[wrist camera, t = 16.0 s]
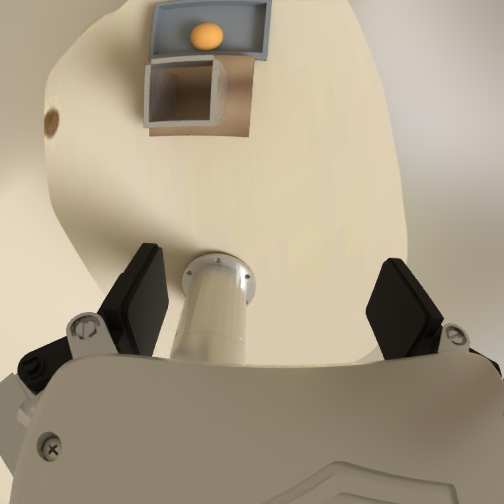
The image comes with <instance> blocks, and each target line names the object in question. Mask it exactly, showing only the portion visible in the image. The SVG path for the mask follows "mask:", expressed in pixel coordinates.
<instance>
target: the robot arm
mask: <svg viewBox="0 0 504 504" xmlns="http://www.w3.org/2000/svg"><path fill="white" fill-rule="evenodd" d="M218 258H219V259H218ZM182 289H183V292H184V295H185V296H186V299H185V302H184V306H183V309H182V313H181V317H180V320H179V324H178V327H177V331H176V335H175V338H174V342H173V346H172V350H171V354H170V359H168V358H159V357H152V354H153V351H154V348H155V345H156V342H157V339H158V336H159V333H160V329H161V326H162V323H163V320H164V318H165V315H166V312H167V309H168V304H169V299H168V292H167V285H166V277H165V269H164V261H163V252H162V248H161V247H158V245H157V244H154V243H143V244H142V245H141V247H140V248H139V250H138V251H137V253H136V254H135V256H134V257H133V259H132V260H131V262H130V263H129V265H128V266H127V268H126V269H125V271H124V273H121V274H120V276H119V277H118V279H117V280H116V282H115V283H114V285H113V287H112V288H111V290H110V292H109V293H108V295H107V296H106V298H105V300H104V301H103V303H102V305H101V307H100V308H99V310H98V312H97V313H92V312H86V313H82V314H79V315H77V316H75V317H74V318H73V319H72V320H71V321H70V322H69V323H68V325H67V328H66V333H67V336H65V337H63V338H61V339H59V340H56V341H54V342H52V343H50V344H47V345H45V346H43V347H41V348H38V349H36V350H34V351H32V352H29V353H28V354H26V355H25V356H24V357H23V358H22V359H21V360H20V362H19V364H18V371H17V372H18V373H17V374H16V375H14V374H13V373H11V374H10V375H9V376H8V377H6V378H5V379H4V380H3V381H2V382H0V455H1V457H2V459H3V461H4V462H5V464H6V466H7V467H8V469H9V470H10V472H11V473H12V475H13V477H14V478H13V483H12V490H11V496H10V504H504V378H503V379H502V374H501V371H500V368H499V365H498V364H497V363H496V362H494V361H492V360H490V359H489V358H487V357H485V356H483V355H482V354H480V353H478V352H476V351H475V350H473V349H471V348H469V344H470V341H469V337H468V334H467V333H466V332H465V331H464V330H463V329H462V328H461V327H459V326H458V325H455V324H451V323H450V324H446V325H444V327H442V325H441V323H442V322H443V320H444V318H443V316H442V314H441V313H440V311H439V310H438V309H437V307H436V306H435V304H434V303H433V301H432V300H431V298H430V297H429V296H428V294H427V293H426V291H425V290H424V289H423V287H422V286H421V285H420V283H419V282H418V280H417V279H416V278H415V276H414V275H413V274H412V273H411V271H410V270H409V268H408V267H407V266H406V265H405V263H404V262H403V261H402V260H401V259H399V258H388V259H387V261H384V263H383V265H382V268H381V271H380V273H379V276H378V279H377V282H376V284H375V287H374V289H373V292H372V295H371V297H370V300H369V302H368V305H367V307H366V316H367V319H368V321H369V323H370V325H371V328H372V330H373V332H374V335H375V337H376V340H377V342H378V344H379V347H380V349H381V351H382V354H383V357H384V359H385V360H382V361H372V362H360V363H346V364H328V365H245V332H246V307H247V306H248V305H249V304H250V302H251V301H252V300H253V298H254V295H255V291H256V283H255V278H254V275H253V273H252V271H251V270H250V268H249V267H248V266H247V265H246V264H245V263H243V262H242V261H241V260H239V259H237V258H235V257H233V256H230V255H226V254H220V253H213V254H206V255H202V256H200V257H198V258H196V259H194V260H193V261H192V262H191V263H190V264H189V265H188V266H187V267H186V269H185V271H184V274H183V277H182Z"/></svg>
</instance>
